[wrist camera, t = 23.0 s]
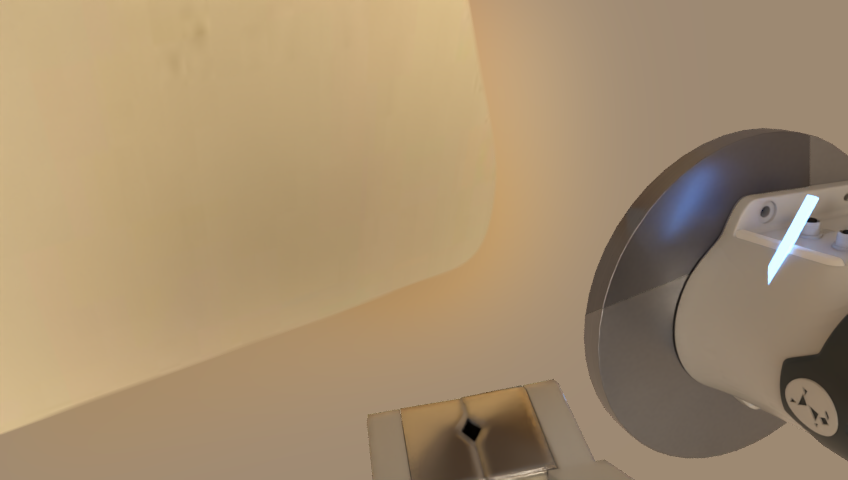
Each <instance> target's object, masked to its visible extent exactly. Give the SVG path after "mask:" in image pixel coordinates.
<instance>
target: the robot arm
mask: <svg viewBox="0 0 848 480" xmlns="http://www.w3.org/2000/svg"><path fill="white" fill-rule="evenodd" d="M761 210H762V211H761ZM675 344H676V349H677V353H678V356H679V359H680V361H681V363H682V365H683V367H684V369H685V370H686V371H687V373H688V374H689V375H690V376H691V377H692V378H693V379H695V380H696V381H698V382H699V383H701V384H703V385H705V386H708V387H711V388H714V389H717V390H720V391H723V392H725V393H728V394H730V395H733V396H734V397H735V398H736V399H737V400H738V401H739V402H740V403H742V404H744V405H746V406H748V407H750V408H752V409H762V410H764V411H766V412H768V413H770V414H772V415H774V416H776V417H778V418H780V419H782V420H784V421H786V422H788V423H790V424H792V425H794V426H796V427H798V428H800V429H802V430H804V431H805V432H808V433H810V434H811V435H812V436H814V438H816V439H817V440H818V441H819V442H820V443H821V444H822V445H823V446H825V447H827V448H829V449H830V450H831V451H833V452H834V453H836V454H838V455H839V456H841V457H842V458H844V459H845V460H847V461H848V180H846V181H839V182H832V183H825V184H818V185H811V186H804V187H797V188H790V189H784V190H777V191H770V192H763V193H756V194H749V195H745V196H743V197H741V198H740V199H739V200H738V201H737V202H736V204H735V205H734V207H733V208H732V210H731V212H730V214H729V216H728V219H727V221H726V223H725V226H724V228H723V230H722V233H721V235H720V236H719V238H718V239H717V240H716V242H715V243H714V244H713V245H712V247H711V248H710V249H709V250H708V251H707V253H706V254H705V255H704V256H703V257H702V259H701V260H700V261H699V263H698V264H697V266H696V267H695V269H694V270H693V272H692V274H691V275H690V277H689V279H688V281H687V283H686V285H685V287H684V290H683V292H682V295H681V298H680V301H679V304H678V308H677V313H676V319H675ZM400 410H401V414H400ZM400 410H399V409H398V410H392V411H386V412H380V413H374V414H368V418H367V428H368V438H369V447H370V458H371V469H372V478H373V480H634V479H633V478H631V477H630V476H628V475H627V474H625V473H624V472H622V471H621V470H619V469H618V468H616V467H615V466H613V465H612V464H610V463H609V462H607V461H606V460H600V461H595V460H594V458H593V456H592V454H591V452H590V449H589V447H588V445H587V443H586V441H585V439H584V437H583V435H582V432H581V430H580V428H579V426H578V424H577V422H576V420H575V418H574V415H573V413H572V411H571V409H570V407H569V405H568V403H567V401H566V398H565V396H564V394H563V392H562V390H561V388H560V386H559V384H558V383H557V382H556V381H555V380H554V379H552V380H547V381H542V382H537V383H532V384H527V385H523V387H522V386H516V387H511V388H506V389H501V390H496V391H491V392H486V393H482V394H477V395H472V396H467V397H462V398H460V399H454V400H449V401H442V402H436V403H430V404H424V405H418V406H412V407H406V408H401V409H400ZM401 417H402V419H401ZM402 424H403V425H402Z"/></svg>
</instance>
